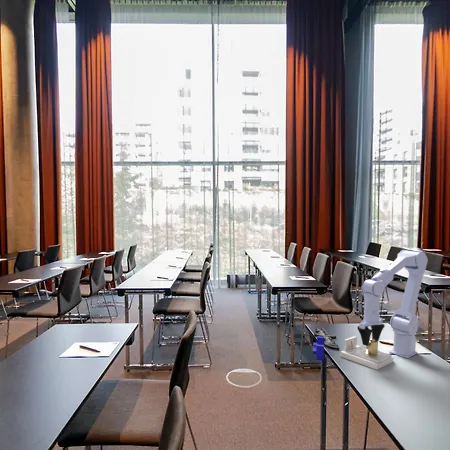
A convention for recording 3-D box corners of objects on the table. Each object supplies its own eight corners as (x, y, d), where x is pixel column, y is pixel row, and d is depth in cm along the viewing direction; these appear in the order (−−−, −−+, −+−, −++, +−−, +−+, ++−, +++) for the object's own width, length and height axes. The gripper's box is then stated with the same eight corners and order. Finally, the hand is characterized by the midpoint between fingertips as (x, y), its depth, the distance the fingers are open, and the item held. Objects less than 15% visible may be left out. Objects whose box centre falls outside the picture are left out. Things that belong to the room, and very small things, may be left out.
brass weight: (369, 350, 155) (370, 336, 154) (379, 354, 151) (380, 339, 151) (363, 353, 152) (364, 338, 152) (373, 356, 149) (374, 341, 148)
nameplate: (348, 347, 163) (325, 347, 162) (347, 351, 163) (325, 351, 162) (327, 327, 190) (308, 327, 190) (327, 330, 190) (308, 330, 190)
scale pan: (362, 347, 160) (362, 345, 160) (391, 357, 150) (391, 355, 150) (348, 352, 154) (348, 350, 154) (378, 363, 144) (379, 361, 144)
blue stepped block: (313, 349, 163) (313, 335, 163) (323, 350, 162) (324, 336, 162) (312, 359, 152) (312, 345, 152) (323, 361, 151) (324, 346, 150)
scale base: (357, 349, 164) (357, 334, 163) (393, 361, 151) (394, 345, 151) (340, 356, 155) (340, 340, 155) (376, 369, 143) (377, 352, 143)
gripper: (371, 315, 144) (370, 350, 144) (390, 309, 153) (389, 342, 153) (355, 310, 149) (353, 344, 150) (374, 305, 158) (372, 337, 159)
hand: (370, 343), depth 152 cm, fingers open, 7 cm apart
